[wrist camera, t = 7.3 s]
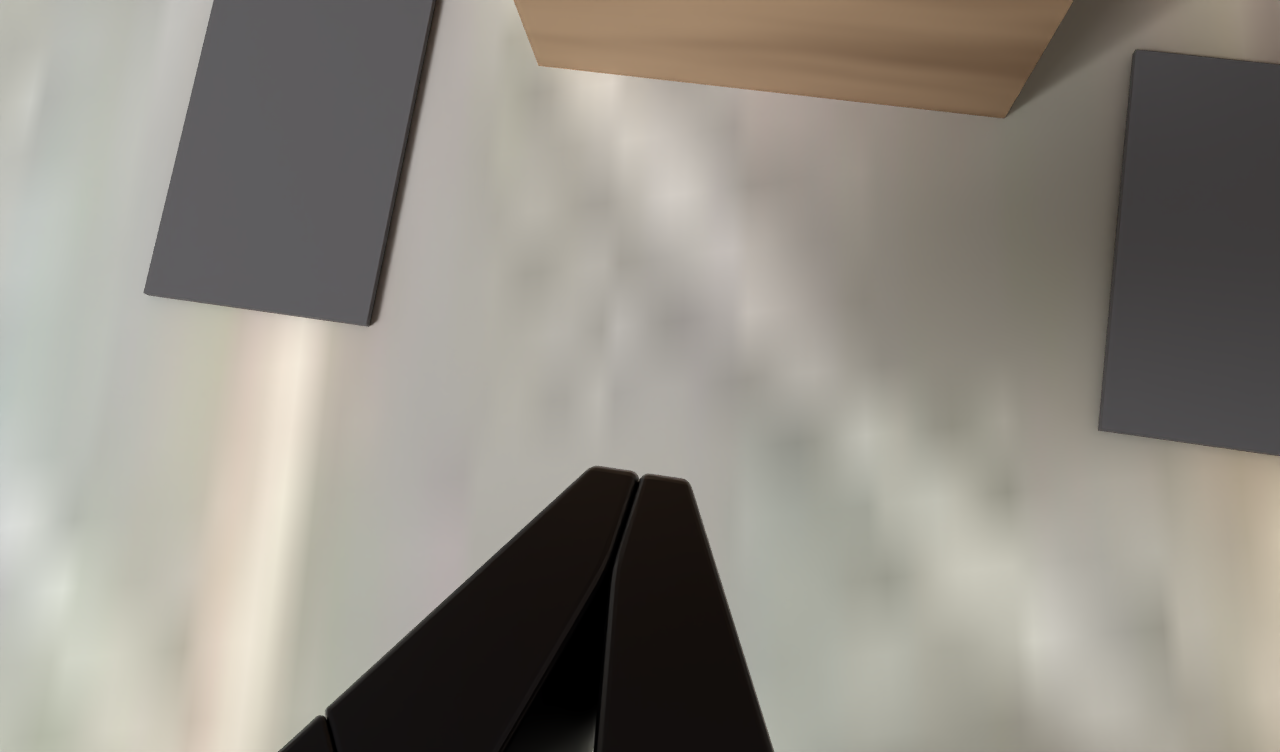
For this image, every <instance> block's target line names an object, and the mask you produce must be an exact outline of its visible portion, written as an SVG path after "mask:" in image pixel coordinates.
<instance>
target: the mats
mask: <svg viewBox="0 0 1280 752" xmlns="http://www.w3.org/2000/svg"><path fill="white" fill-rule="evenodd" d="M435 2H436V0H214V2H213V6H212V10H211V14H210V18H209V22H208V27H207V31H206V35H205V39H204V43H203V47H202V52H201V56H200V60H199V64H198V68H197V72H196V77H195V81H194V85H193V89H192V93H191V97H190V102H189V106H188V110H187V114H186V118H185V122H184V126H183V131H182V135H181V139H180V143H179V147H178V151H177V156H176V160H175V164H174V168H173V172H172V176H171V181H170V185H169V189H168V193H167V197H166V201H165V206H164V210H163V214H162V218H161V222H160V226H159V231H158V235H157V239H156V243H155V247H154V251H153V256H152V260H151V264H150V268H149V272H148V276H147V280H146V285H145V289H144V293H145V294H147V295H151V296H158V297H165V298H172V299H179V300H186V301H193V302H200V303H207V304H214V305H221V306H228V307H235V308H242V309H249V310H256V311H263V312H270V313H277V314H284V315H291V316H298V317H305V318H312V319H319V320H326V321H333V322H340V323H347V324H354V325H361V326H368V327H369V325H370V320H371V315H372V310H373V305H374V301H375V296H376V291H377V286H378V281H379V276H380V271H381V266H382V261H383V257H384V252H385V247H386V242H387V237H388V232H389V227H390V222H391V217H392V213H393V208H394V203H395V198H396V193H397V188H398V183H399V178H400V173H401V169H402V164H403V159H404V154H405V149H406V144H407V139H408V134H409V129H410V125H411V120H412V115H413V110H414V105H415V100H416V95H417V90H418V85H419V81H420V76H421V71H422V66H423V61H424V56H425V51H426V46H427V41H428V37H429V32H430V27H431V22H432V17H433V12H434V7H435ZM1098 430H1100V431H1107V432H1114V433H1121V434H1128V435H1135V436H1142V437H1149V438H1156V439H1163V440H1170V441H1177V442H1184V443H1191V444H1198V445H1205V446H1212V447H1219V448H1226V449H1233V450H1240V451H1247V452H1254V453H1261V454H1268V455H1275V456H1280V65H1278V64H1269V63H1259V62H1250V61H1240V60H1231V59H1221V58H1212V57H1202V56H1193V55H1183V54H1174V53H1164V52H1155V51H1145V50H1135V52H1134V53H1133V56H1132V67H1131V78H1130V89H1129V100H1128V110H1127V121H1126V132H1125V143H1124V154H1123V165H1122V176H1121V187H1120V197H1119V208H1118V219H1117V230H1116V241H1115V252H1114V263H1113V274H1112V284H1111V295H1110V306H1109V317H1108V328H1107V339H1106V350H1105V361H1104V371H1103V382H1102V393H1101V404H1100V415H1099V426H1098Z"/></svg>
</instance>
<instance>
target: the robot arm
mask: <svg viewBox="0 0 1280 752" xmlns="http://www.w3.org/2000/svg"><path fill="white" fill-rule="evenodd" d="M325 716H326V718H325V717H324V716H321V715H320V716H317V717H316V718H314V719H313V720H312V721H311V722H310V723H309V724H308V725H307V726H306V727H305V728H304V729H303V730H302V731H300V732H299V733H298V734H297V735H296V736H295V737H294V738H293V739H292V740H291V741H290V742H288V743H287V744H286V745H285V746H284V747H283V748H282V749H281V750H279V751H278V752H592V751H593V752H774V750H773V746H772V743H771V740H770V737H769V734H768V730H767V727H766V724H765V721H764V718H763V714H762V711H761V708H760V705H759V702H758V698H757V695H756V692H755V689H754V686H753V682H752V679H751V676H750V673H749V670H748V666H747V663H746V660H745V657H744V654H743V650H742V647H741V644H740V641H739V637H738V634H737V631H736V628H735V625H734V621H733V618H732V615H731V612H730V609H729V605H728V602H727V599H726V596H725V593H724V589H723V586H722V583H721V580H720V577H719V573H718V570H717V567H716V564H715V561H714V557H713V554H712V551H711V548H710V545H709V541H708V538H707V535H706V532H705V529H704V525H703V522H702V519H701V516H700V513H699V509H698V506H697V503H696V500H695V496H694V493H693V490H692V487H691V485H690V484H689V482H688V481H686V480H685V479H681V478H675V477H668V476H662V475H655V474H645V475H643V476H642V477H641V479H640V480H639V477H638V475H637V474H636V473H635V472H633V471H629V470H622V469H616V468H609V467H603V466H594V467H591V468H589V469H588V470H586V471H585V472H584V473H583V474H582V475H581V476H580V477H579V478H578V479H577V480H576V481H574V482H573V483H572V484H571V485H570V486H569V487H568V488H567V489H566V490H565V491H563V492H562V493H561V494H560V495H559V496H558V497H557V498H556V499H555V500H554V501H553V502H551V503H550V504H549V505H548V506H547V507H546V508H545V509H544V510H543V511H542V512H541V513H539V514H538V515H537V516H536V517H535V518H534V519H533V520H532V521H531V522H530V523H529V524H527V525H526V526H525V527H524V528H523V529H522V530H521V531H520V532H519V533H518V534H516V535H515V536H514V537H513V538H512V539H511V540H510V541H509V542H508V543H507V544H506V545H504V546H503V547H502V548H501V549H500V550H499V551H498V552H497V553H496V554H495V555H494V556H492V557H491V558H490V559H489V560H488V561H487V562H486V563H485V564H484V565H483V566H481V567H480V568H479V569H478V570H477V571H476V572H475V573H474V574H473V575H472V576H471V577H469V578H468V579H467V580H466V581H465V582H464V583H463V584H462V585H461V586H460V587H459V588H457V589H456V590H455V591H454V592H453V593H452V594H451V595H450V596H449V597H448V598H447V599H445V600H444V601H443V602H442V603H441V604H440V605H439V606H438V607H437V608H436V609H434V610H433V611H432V612H431V613H430V614H429V615H428V616H427V617H426V618H425V619H424V620H422V621H421V622H420V623H419V624H418V625H417V626H416V627H415V628H414V629H413V630H412V631H410V632H409V633H408V634H407V635H406V636H405V637H404V638H403V639H402V640H401V641H400V642H398V643H397V644H396V645H395V646H394V647H393V648H392V649H391V650H390V651H389V652H387V653H386V654H385V655H384V656H383V657H382V658H381V659H380V660H379V661H378V662H377V663H375V664H374V665H373V666H372V667H371V668H370V669H369V670H368V671H367V672H366V673H365V674H363V675H362V676H361V677H360V678H359V679H358V680H357V681H356V682H355V683H354V684H352V685H351V686H350V687H349V688H348V689H347V690H346V691H345V692H344V693H343V694H342V695H340V696H339V697H338V698H337V699H336V700H335V701H334V702H333V703H332V704H331V705H330V706H328V707H327V708H326V710H325ZM593 748H594V750H593Z"/></svg>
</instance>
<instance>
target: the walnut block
mask: <svg viewBox="0 0 1280 752" xmlns="http://www.w3.org/2000/svg"><path fill="white" fill-rule="evenodd" d="M1073 1H1074V0H514V2H515V5H516V8H517V10H518V13H519V15H520V18H521V21H522V23H523V26H524V29H525V31H526V34H527V36H528V39H529V42H530V44H531V47H532V49H533V52H534V55H535V57H536V60H537V63H538V65H539V66H545V67H554V68H563V69H572V70H581V71H590V72H598V73H607V74H616V75H625V76H634V77H643V78H652V79H660V80H669V81H678V82H687V83H696V84H705V85H714V86H722V87H731V88H740V89H749V90H758V91H767V92H775V93H784V94H793V95H802V96H811V97H820V98H829V99H837V100H846V101H855V102H864V103H873V104H882V105H891V106H899V107H908V108H917V109H926V110H935V111H944V112H952V113H961V114H970V115H979V116H988V117H997V118H1005V117H1006V115H1007V113H1008V112H1009V110H1010V108H1011V107H1012V105H1013V103H1014V101H1015V100H1016V98H1017V96H1018V95H1019V93H1020V91H1021V89H1022V88H1023V86H1024V84H1025V83H1026V81H1027V79H1028V78H1029V76H1030V74H1031V72H1032V71H1033V69H1034V67H1035V66H1036V64H1037V62H1038V60H1039V59H1040V57H1041V55H1042V54H1043V52H1044V50H1045V49H1046V47H1047V45H1048V43H1049V42H1050V40H1051V38H1052V37H1053V35H1054V33H1055V31H1056V30H1057V28H1058V26H1059V25H1060V23H1061V21H1062V19H1063V18H1064V16H1065V14H1066V13H1067V11H1068V9H1069V8H1070V6H1071V4H1072V2H1073Z"/></svg>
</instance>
